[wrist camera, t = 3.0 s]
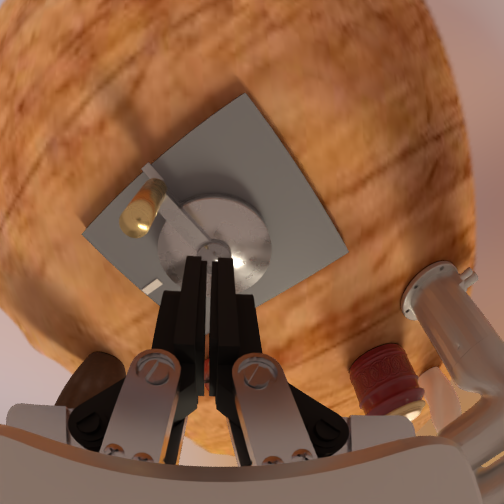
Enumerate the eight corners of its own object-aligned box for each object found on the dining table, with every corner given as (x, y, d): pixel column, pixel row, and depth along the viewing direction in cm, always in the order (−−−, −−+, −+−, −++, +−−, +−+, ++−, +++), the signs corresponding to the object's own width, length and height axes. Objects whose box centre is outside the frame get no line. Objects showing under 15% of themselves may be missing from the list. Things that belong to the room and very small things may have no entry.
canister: (336, 370, 51) (360, 447, 36) (388, 333, 46) (426, 411, 32) (365, 383, 56) (387, 446, 41) (410, 352, 52) (441, 415, 37)
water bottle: (429, 363, 57) (469, 449, 34) (448, 360, 59) (487, 438, 35) (408, 385, 62) (441, 467, 39) (427, 381, 64) (460, 456, 41)
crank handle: (289, 251, 32) (307, 305, 25) (208, 300, 35) (206, 358, 28) (198, 136, 24) (184, 158, 17) (114, 209, 27) (80, 255, 20)
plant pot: (156, 383, 49) (148, 456, 35) (97, 383, 49) (83, 446, 35) (121, 336, 40) (99, 422, 27) (58, 339, 41) (32, 410, 27)
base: (242, 89, 24) (242, 89, 22) (344, 245, 35) (349, 252, 33) (84, 226, 30) (78, 232, 28) (200, 330, 41) (199, 338, 39)
